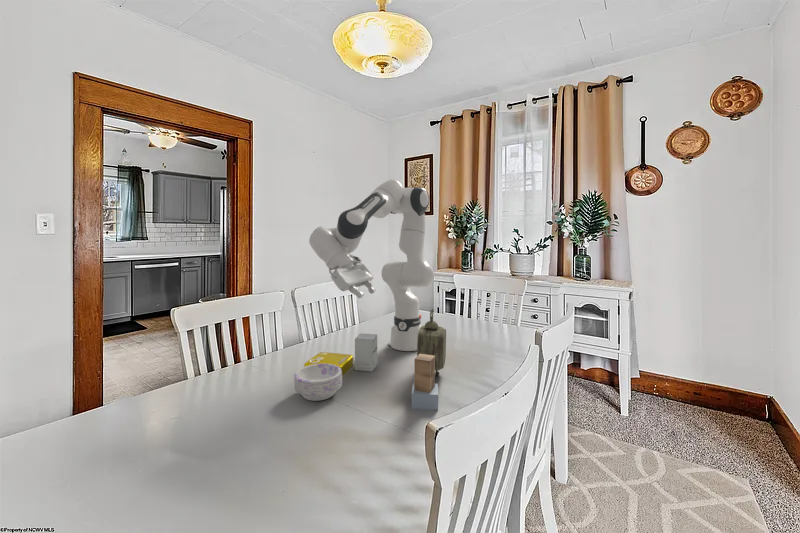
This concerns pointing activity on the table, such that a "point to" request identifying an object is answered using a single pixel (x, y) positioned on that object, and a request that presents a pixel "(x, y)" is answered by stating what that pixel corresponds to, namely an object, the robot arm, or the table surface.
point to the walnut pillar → (424, 373)
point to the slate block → (425, 399)
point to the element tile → (332, 360)
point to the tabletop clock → (432, 342)
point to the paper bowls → (318, 381)
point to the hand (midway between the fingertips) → (367, 294)
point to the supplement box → (366, 352)
